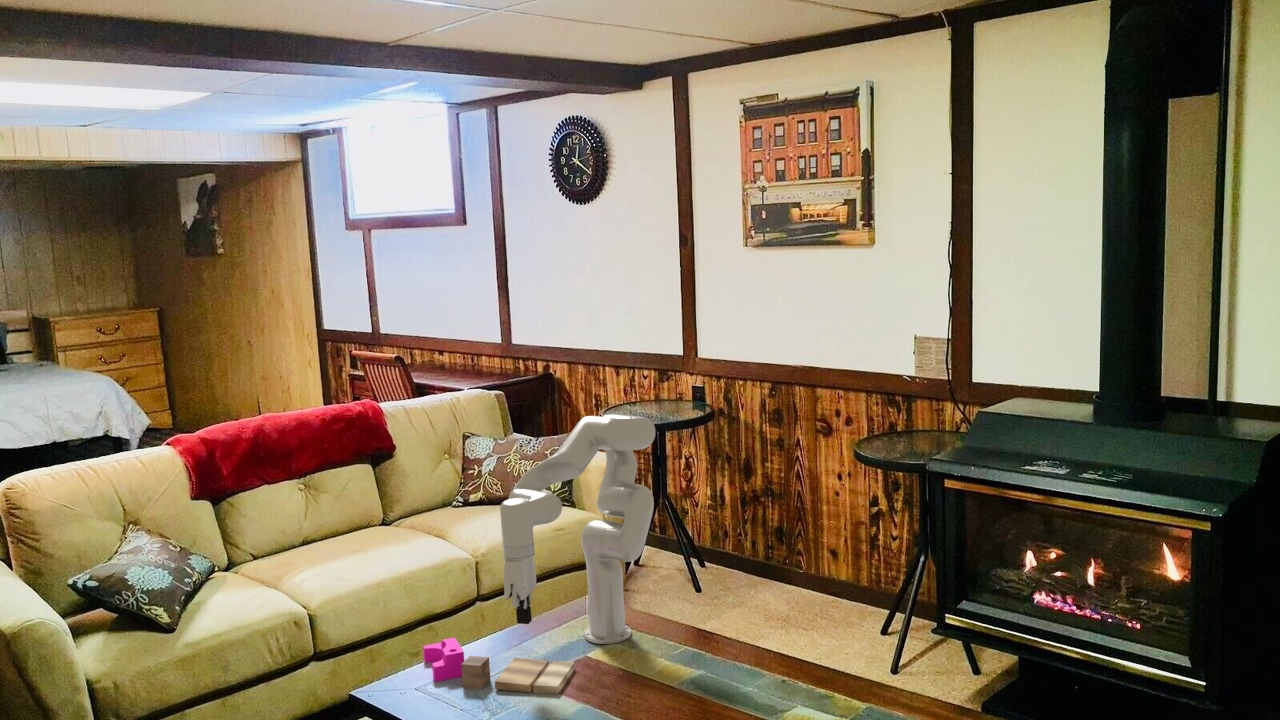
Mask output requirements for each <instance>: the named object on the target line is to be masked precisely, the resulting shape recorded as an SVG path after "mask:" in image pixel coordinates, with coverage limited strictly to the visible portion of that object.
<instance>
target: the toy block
mask: <svg viewBox="0 0 1280 720" xmlns="http://www.w3.org/2000/svg"><path fill="white" fill-rule="evenodd" d="M440 641H441V642H436V643H431V644H426V645H422V650H423V651H422V652H423V660H424V662H425V663H432V664H431V665H432V678H433V680H434V682H441V681H445V680H447V681H448V680H451V679H456V678H460V677H461V678H462V667H461V664H462V663H463V662H464V661H465V653H464V651H465V650H463V648H462V646H461V645H460V644H459V641H458V639H456V637H451V638H445V639H441V640H440Z"/></svg>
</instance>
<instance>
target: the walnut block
mask: <svg viewBox="0 0 1280 720" xmlns="http://www.w3.org/2000/svg"><path fill="white" fill-rule="evenodd" d="M461 667H462V677H461V678H462V680H461V681H462V688H464V689H472V690H473V689H474V690H475V689H476V690H483V689H484V688H485V686H487V685H488V684H489V683H490V682H491V667H490V656H489V657H488V656H478V655H476V656H475V655H469V656H468V658H466V659H464V662H463V663H462V664H461Z"/></svg>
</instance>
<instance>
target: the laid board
mask: <svg viewBox="0 0 1280 720" xmlns="http://www.w3.org/2000/svg"><path fill="white" fill-rule="evenodd" d="M575 668H576V667H575V662H574V661H560V660H559V661H557V660H551V661H549V664H548V666H547V667H546V668H545V670H544V671H543V672H542V674H541V675H540V676H539V678H538V679H537V680H536V682H535V683H534V684H533V690H532V691H533V694H538V695H539V694H540V695H541V694H542V695H543V694H544V695H556V696H557V695H559V694H560V692H561V690H563V688H564V686H565V685H566V683H567V682H568V680H569V678H570V677H571V676H572V674H573V673H574V671H575Z"/></svg>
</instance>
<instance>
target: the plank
mask: <svg viewBox="0 0 1280 720" xmlns="http://www.w3.org/2000/svg"><path fill="white" fill-rule="evenodd" d="M549 663H550V660H543V659H542V660H541V659H533V658H523V657H522V658H521V657H513V659H512V661H510V663H509V664H508V665H507V666H506V667H505V668H504V670H503V671H502V672H501V673H500V675H499V676H498V677H497V678H496V679H495V681H494V689H495V690H502V691H512V692H521V693H532V691H534V690H533V684H534V683H535V682H536V680H537V679H538V678H539V676H540V675H541V674H542V672H543V671H544V670H545V668H546V667H547V666H548V664H549Z"/></svg>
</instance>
